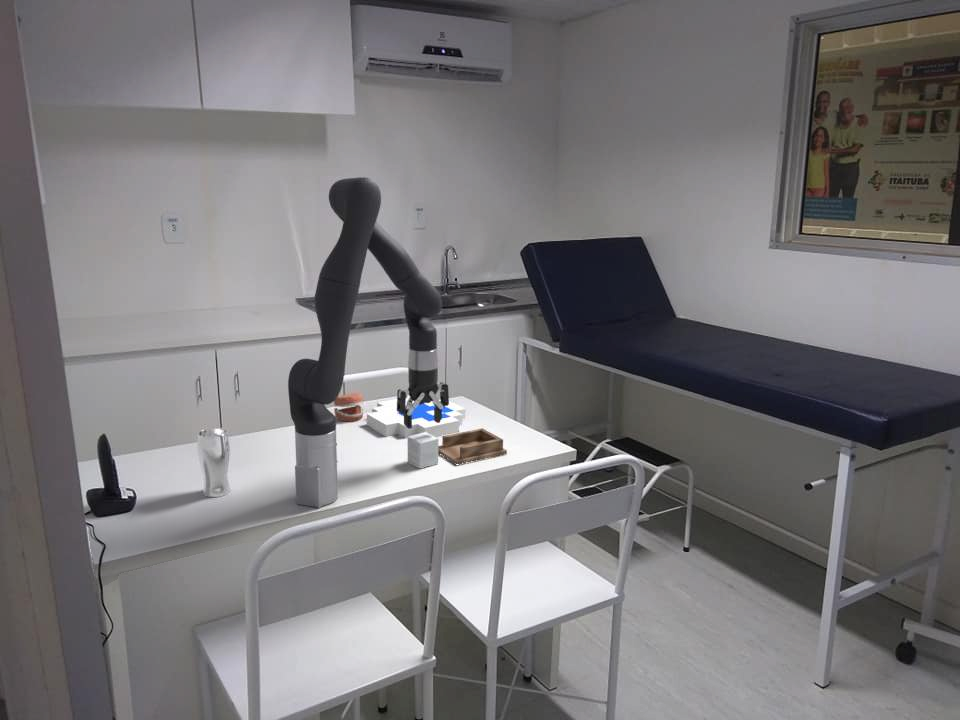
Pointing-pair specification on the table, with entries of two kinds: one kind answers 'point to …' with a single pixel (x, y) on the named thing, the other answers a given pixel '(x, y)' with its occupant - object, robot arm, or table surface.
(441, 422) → the pixel art tile
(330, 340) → the robot arm
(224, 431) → the beer glass
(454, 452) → the U-rest
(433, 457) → the product box
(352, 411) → the dentures
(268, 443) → the table surface
